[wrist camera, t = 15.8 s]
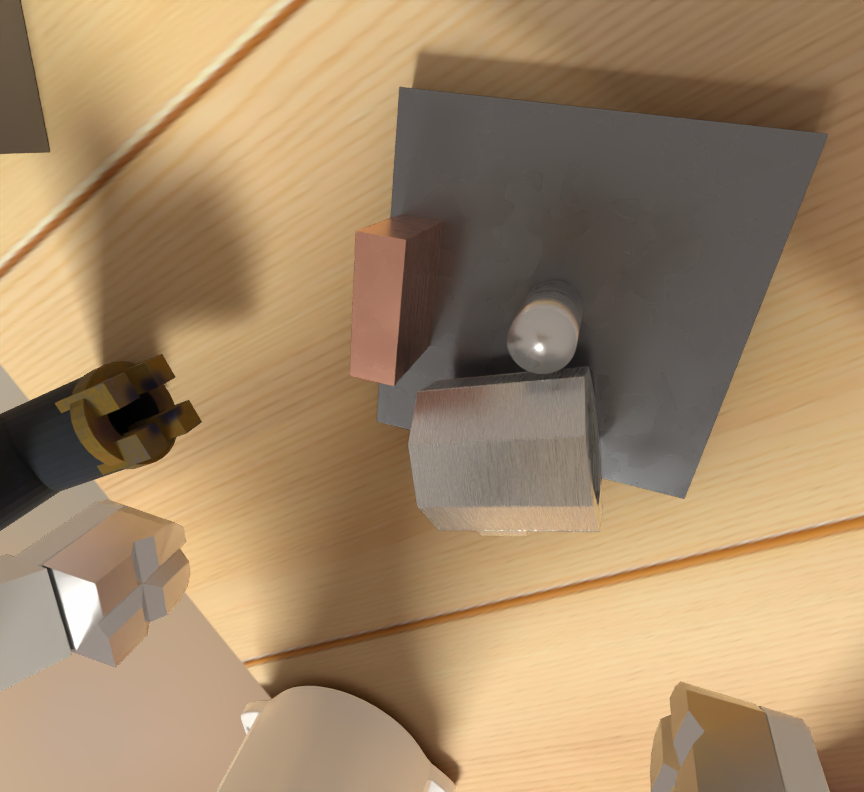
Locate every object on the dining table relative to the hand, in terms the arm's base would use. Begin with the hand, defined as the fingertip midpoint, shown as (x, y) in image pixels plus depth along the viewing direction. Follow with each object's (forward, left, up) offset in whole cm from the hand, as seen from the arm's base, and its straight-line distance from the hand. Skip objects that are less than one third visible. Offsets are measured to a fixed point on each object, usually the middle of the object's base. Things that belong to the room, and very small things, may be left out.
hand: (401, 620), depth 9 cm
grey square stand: (0, -1, -20) cm, 20 cm away
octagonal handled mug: (-4, -4, -15) cm, 16 cm away
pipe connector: (-10, +23, -20) cm, 32 cm away
